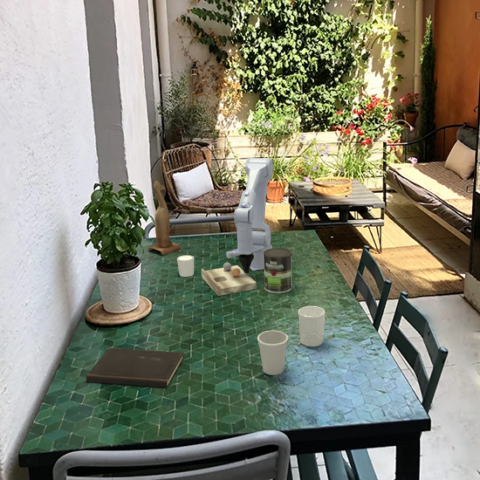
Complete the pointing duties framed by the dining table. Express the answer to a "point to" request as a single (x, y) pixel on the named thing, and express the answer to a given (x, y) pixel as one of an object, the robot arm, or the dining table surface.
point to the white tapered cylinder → (186, 265)
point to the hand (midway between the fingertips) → (246, 272)
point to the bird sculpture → (162, 225)
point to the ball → (236, 272)
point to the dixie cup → (273, 351)
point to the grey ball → (227, 266)
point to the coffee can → (278, 270)
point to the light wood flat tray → (228, 281)
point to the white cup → (311, 325)
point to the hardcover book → (135, 367)
